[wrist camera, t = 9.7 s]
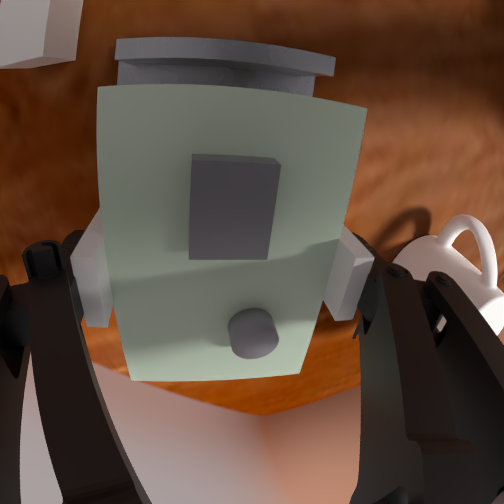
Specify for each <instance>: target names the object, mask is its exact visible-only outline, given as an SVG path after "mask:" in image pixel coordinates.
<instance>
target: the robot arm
mask: <svg viewBox="0 0 504 504" xmlns="http://www.w3.org/2000/svg"><path fill="white" fill-rule="evenodd" d="M22 257H23V261H24V265H25V268H26V272H27V275H28V279H29V282H28V283H24V284H19V285H14V286H10V285H9V282H8V279H7V277H6V276H4V275H0V504H21V496H20V433H21V419H22V408H23V399H24V389H25V382H26V376H27V369H28V364H29V358H30V352H31V356H32V366H33V374H34V382H35V388H36V395H37V400H38V406H39V411H40V416H41V422H42V426H43V430H44V435H45V439H46V443H47V447H48V451H49V454H50V458H51V462H52V465H53V469H54V472H55V475H56V478H57V481H58V484H59V487H60V490H61V493H62V497H63V503H62V504H152V503H151V501H150V499H149V498H148V496H147V494H146V492H145V490H144V488H143V486H142V484H141V482H140V481H139V479H138V477H137V475H136V473H135V471H134V469H133V467H132V465H131V462H130V460H129V458H128V456H127V454H126V452H125V450H124V447H123V445H122V443H121V441H120V438H119V436H118V434H117V431H116V429H115V427H114V424H113V422H112V419H111V417H110V414H109V412H108V409H107V406H106V403H105V401H104V398H103V395H102V392H101V389H100V387H99V384H98V381H97V378H96V375H95V371H94V368H93V365H92V362H91V359H90V355H89V352H88V348H87V345H86V341H85V337H84V334H83V330H82V327H81V321H82V318H83V315H84V318H85V321H86V325H87V327H102V328H108V324H109V319H110V315H111V311H112V307H113V303H114V302H113V296H112V291H111V285H110V279H109V273H108V266H107V259H106V252H105V244H104V236H103V232H102V223H101V213H100V208H99V210H98V211H97V213H96V214H95V216H94V218H93V219H92V221H91V222H90V224H89V226H88V227H87V229H86V230H75V231H73V232H72V233H71V234H69V235H68V236H67V237H66V238H65V240H64V241H63V243H62V244H61V245H60V243H59V242H57V241H53V240H45V241H40V242H37V243H34V244H32V245H30V246H29V247H27V248H26V249H25V250H24V252H23V254H22ZM323 300H324V302H325V304H326V306H327V308H328V309H329V311H330V313H331V315H332V316H333V318H334V320H335V321H342V320H352V319H353V317H354V315H355V312H356V309H357V307H358V308H359V310H360V311H361V313H362V315H361V318H360V320H359V323H358V325H357V328H356V330H355V332H354V335H353V338H352V339H355V338H356V336H357V335H358V334H359V340H360V366H361V436H360V461H359V475H358V483H357V486H356V489H355V491H354V493H353V495H352V497H351V500H350V503H349V504H504V345H503V344H502V342H501V341H500V339H499V338H498V336H497V335H496V334H495V332H494V331H493V329H492V328H491V327H490V325H489V324H488V323H487V321H486V320H485V318H484V317H483V316H482V314H481V313H480V312H479V310H478V309H477V308H476V307H475V305H474V304H473V303H472V301H471V300H470V299H469V298H468V296H467V295H466V294H465V293H464V291H463V290H462V289H461V288H460V286H459V285H458V284H457V283H456V281H455V280H454V279H452V278H451V277H450V276H448V274H446V273H444V272H441V271H440V272H439V271H431V272H430V273H429V274H428V277H427V279H426V281H421V280H415V279H413V276H412V275H411V273H410V272H409V271H408V270H407V269H406V268H404V267H402V266H401V265H398V264H395V263H389V262H385V261H384V260H383V259H382V258H381V257H380V256H379V255H378V254H377V253H376V251H373V248H372V247H371V246H369V244H368V243H367V242H366V241H365V240H364V239H363V238H362V237H360V236H358V235H357V234H355V233H351V232H350V231H349V230H348V229H347V228H346V226H345V225H344V224H343V228H342V232H341V236H340V238H339V242H338V246H337V250H336V253H335V257H334V261H333V265H332V268H331V272H330V276H329V279H328V283H327V286H326V290H325V293H324V296H323ZM443 316H444V318H445V319H446V321H447V322H446V323H445V325H444V327H443V329H442V330H441V332H440V331H439V330H438V328H437V326H438V325H439V323H440V321H441V319H442V317H443Z"/></svg>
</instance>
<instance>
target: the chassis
mask: <svg viewBox="0 0 504 504" xmlns="http://www.w3.org/2000/svg"><path fill="white" fill-rule="evenodd" d="M115 60H117V61H119V65H118V78H117V85H137V84H193V85H215V86H229V87H241V88H252V89H261V90H269V91H277V92H284V93H291V94H297V95H304V96H310V97H313V90H314V83H315V77H317V76H329V77H333V76H334V69H335V62H336V57H332V56H327V55H323V54H319V53H314V52H309V51H305V50H299V49H294V48H289V47H283V46H277V45H270V44H263V43H256V42H248V41H239V40H228V39H215V38H197V37H142V38H124V39H117V41H116V50H115Z"/></svg>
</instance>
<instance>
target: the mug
mask: <svg viewBox="0 0 504 504" xmlns="http://www.w3.org/2000/svg"><path fill="white" fill-rule="evenodd" d="M467 229H469V230H471V231H472V233H473V234H474V236H475V238H476V241H477V244H478V247H479V251H480V256H481V265H482V273H481V272H480V271H479V270H478V269H477V268H476V267H475V266H474V265H473V264H471V263H470V262H469V261H468V260H467V259H466V258H465V257H463V256H462V255H461V254H460V253H459V252H458V251H456V250H455V249H454V248H453V247H452V246H451V245H452V243H453V241H454V240H455V238H456V237H457V236H458V235H459V234H460V233H461V232H462V231H464V230H467ZM392 263H395V264H398V265H401V266H402V267H404V268H406V269H407V270H408V271H409V272H410V273H411V275H412V276H413V279H415V280H421V281H426V279H427V277H428V274H429V273H430V272H431V271H439V272H440V271H441V272H444V273H446V274H448V276H450V277H451V278H452V279H454V280H455V281H456V283H457V284H458V285H459V286H460V288H461V289H462V290H463V291H464V293H465V294H466V295H467V296H468V298H469V299H470V300H471V301H472V303H473V304H474V305H475V307H476V308H477V309H478V310H479V312H480V313H481V314H482V316H483V317H484V318H485V320H486V321H487V323H488V324H489V325H490V327H491V328H492V329H493V331H494V332H495V334H496V335H497V336H498V334H499V333H500V331H501V329H502V328H503V326H504V293H503V292H502V291H501V290H500V289H499V288H498V287H497V286H496V285H497V261H496V255H495V250H494V246H493V242H492V240H491V237H490V235H489V233H488V231H487V229H486V228H485V226H484V225H483V224H482V223H481V222H480V221H479V220H477V219H476V218H474V217H472V216H470V215H465V214H460V215H456V216H454V217H452V218H451V219H450V220H449V221H448V222H447V223H446V224H445V225H444V227H443V228H442V230H441V231H440V233H439V235H438V236H435V235H427V236H422V237H420V238H417V239H415V240H414V241H412V242H411V243H409V244H408V245H407V246H406V247H404V248H403V249H402V250H401V252H400V253H399V254H398V255H397V256H396V258H395V259H394V261H393V262H392ZM446 322H447V321H446V319H445V318H444V316H443V317H442V319H441V321H440V323H439V325H438V326H437V328H438V330H439V331H440V332H441V330H442V329H443V327H444V325H445V323H446Z"/></svg>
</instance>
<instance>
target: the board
mask: <svg viewBox="0 0 504 504" xmlns="http://www.w3.org/2000/svg"><path fill="white" fill-rule="evenodd" d="M366 114H367V108H363V107H359V106H354V105H350V104H345V103H341V102H336V101H331V100H326V99H321V98H315V97H310V96H304V95H297V94H291V93H284V92H277V91H269V90H261V89H252V88H241V87H229V86H215V85H193V84H137V85H116V86H102V87H98V92H97V169H98V187H99V201H100V213H101V223H102V232H103V236H104V244H105V252H106V259H107V266H108V273H109V279H110V285H111V291H112V296H113V302H114V303H113V305H114V310H115V315H116V320H117V324H118V329H119V333H120V338H121V342H122V346H123V351H124V355H125V359H126V362H127V366H128V370H129V374H130V377H131V380H132V381H209V380H230V379H246V378H259V377H270V376H280V375H289V374H298V373H299V372H300V370H301V367H302V364H303V361H304V358H305V355H306V352H307V349H308V346H309V343H310V340H311V337H312V334H313V330H314V327H315V324H316V321H317V318H318V314H319V311H320V308H321V305H322V301H323V296H324V293H325V290H326V286H327V283H328V279H329V276H330V272H331V268H332V265H333V261H334V257H335V253H336V250H337V246H338V242H339V238H340V236H341V232H342V228H343V224H344V220H345V216H346V212H347V208H348V203H349V199H350V195H351V190H352V186H353V181H354V176H355V172H356V167H357V162H358V157H359V152H360V147H361V142H362V136H363V131H364V125H365V120H366Z"/></svg>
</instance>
